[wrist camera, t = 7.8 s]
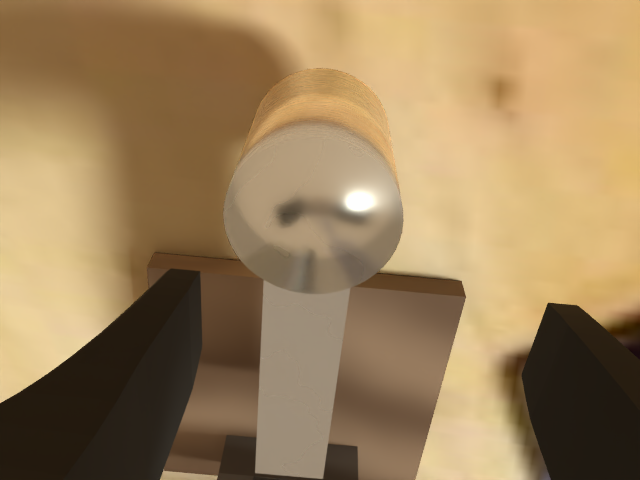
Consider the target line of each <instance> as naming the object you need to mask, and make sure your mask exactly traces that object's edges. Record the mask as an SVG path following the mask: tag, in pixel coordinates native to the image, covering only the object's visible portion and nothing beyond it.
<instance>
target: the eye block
mask: <svg viewBox="0 0 640 480" xmlns="http://www.w3.org/2000/svg"><path fill="white" fill-rule="evenodd" d="M171 268H173V269H184V270H195V271H200V277H201V312H202V350H201V355H200V359H199V364H198V369H197V373H196V377H195V381H194V385H193V389H192V392H191V395H190V398H189V401H188V404H187V406H186V409H185V412H184V415H183V417H182V420H181V423H180V426H179V428H178V431H177V434H176V437H175V439H174V442H173V445H172V448H171V450H170V453H169V456H168V459H167V461H166V464H165V467H164V471H172V472H184V473H195V474H207V475H218V478H217V480H415V478H416V475H417V471H418V468H419V464H420V460H421V457H422V453H423V450H424V446H425V442H426V439H427V435H428V432H429V428H430V424H431V421H432V417H433V414H434V410H435V406H436V403H437V399H438V396H439V392H440V388H441V385H442V381H443V378H444V374H445V370H446V367H447V363H448V360H449V356H450V352H451V349H452V345H453V342H454V338H455V334H456V331H457V327H458V324H459V320H460V317H461V313H462V309H463V306H464V302H465V299H466V295H465V292H464V288H463V285H462V281H453V280H443V279H432V278H421V277H410V276H399V275H389V274H378V273H376V274H375V275H373V276H372V277H371V278H369V279H368V280H366V281H364V282H362V283H361V284H359V285H356V286H354V287H351V288H350V294H349V301H348V308H347V315H346V321H345V328H344V335H343V342H342V349H341V356H340V363H339V370H338V377H337V384H336V391H335V398H334V405H333V412H332V419H331V426H330V433H329V440H328V447H327V454H326V461H325V468H324V475H323V479H317V478H306V477H294V476H283V475H271V474H260V473H255V464H256V441H257V419H258V397H259V375H260V352H261V330H262V308H263V285H264V280H263V279H262V278H260V277H259V276H257V275H256V274H254V273H253V272H252V271H251V270H250V269H248V268H247V267H246V266H245V264H244V263H243V262H242V261H238V260H227V259H217V258H206V257H195V256H184V255H173V254H163V253H154V254H153V256H152V258H151V260H150V262H149V264H148V266H147V274H148V285H149V288H150V287H151V286H152V285H153V284H154V283H155V282H156V281H157V280H158V279H159V278H160V277H161V276H162V275H163V274H164V273H165V272H167V271H168V270H169V269H171Z"/></svg>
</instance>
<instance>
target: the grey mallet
mask: <svg viewBox="0 0 640 480" xmlns="http://www.w3.org/2000/svg"><path fill="white" fill-rule="evenodd" d="M223 217H224V226H225V231H226V235H227V237H228V240H229V242H230V245H231V246H232V248H233V250H234V252H235V253H236V255H237V256H238V257H239V259H240V260H241V261H242V262H243V263H244V264H245V266H246V267H247V268H248V269H250V270H251V271H252V272H253V273H254V274H256V275H257V276H259V277H260V278H262V279H263V280H264V285H263V308H262V330H261V352H260V375H259V397H258V419H257V441H256V464H255V473H260V474H271V475H283V476H294V477H306V478H317V479H323V475H324V468H325V461H326V454H327V447H328V440H329V433H330V426H331V419H332V412H333V405H334V398H335V391H336V384H337V377H338V370H339V363H340V356H341V349H342V342H343V335H344V328H345V321H346V315H347V308H348V301H349V294H350V288H351V287H354V286H356V285H359V284H361V283H362V282H364V281H366V280H368V279H369V278H371V277H372V276H373V275H375V274H376V273H377V272H378V271H379V270H380V269H381V268H383V267H384V265H385V264H386V263H387V262H388V261H389V259H390V258H391V256H392V255H393V253H394V252H395V250H396V248H397V245H398V243H399V241H400V237H401V233H402V228H403V208H402V202H401V196H400V190H399V184H398V178H397V172H396V166H395V160H394V154H393V149H392V143H391V137H390V131H389V125H388V120H387V116H386V113H385V110H384V108H383V106H382V104H381V102H380V100H379V99H378V98H377V96H376V95H375V93H374V92H373V91H372V90H371V89H370V88H369V87H368V86H367V85H365V84H364V83H363V82H362V81H360V80H358V79H357V78H355V77H354V76H351V75H349V74H347V73H344V72H341V71H338V70H333V69H323V68H316V69H307V70H303V71H299V72H296V73H294V74H291V75H289V76H287V77H285V78H284V79H282V80H281V81H279V82H278V83H277V84H275V85H274V86H273V87H272V88H271V89H270V90H269V91H268V92H267V94H266V95H265V96H264V98H263V99H262V101H261V103H260V105H259V107H258V109H257V112H256V114H255V117H254V120H253V123H252V125H251V128H250V131H249V134H248V136H247V139H246V142H245V144H244V147H243V150H242V153H241V155H240V158H239V161H238V163H237V166H236V169H235V172H234V174H233V177H232V180H231V182H230V185H229V188H228V191H227V193H226V197H225V202H224V211H223Z"/></svg>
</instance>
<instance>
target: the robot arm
mask: <svg viewBox="0 0 640 480" xmlns="http://www.w3.org/2000/svg"><path fill="white" fill-rule="evenodd" d="M201 350H202V312H201V277H200V271H195V270H184V269H173V268H171V269H169V270H168V271H167V272H165V273H164V274H163V275H162V276H161V277H160V278H159V279H158V280H157V281H156V282H155V283H154V284H153V285H152V286H151V287H150V288H149V289H148V290H147V291H146V292H145V293H144V294H143V295H142V296H141V297H140V298H139V299H138V300H137V301H135V302H134V303H133V304H132V305H131V306H130V307H129V308H128V309H127V310H126V311H125V312H124V313H122V314H121V315H120V316H119V317H118V318H117V319H116V320H115V321H113V322H112V323H111V324H110V325H109V326H108V327H107V328H106V329H104V330H103V331H102V332H101V333H100V334H99V335H97V336H96V337H95V338H94V339H92V340H91V341H90V342H89V343H87V344H86V345H85V346H84V347H82V348H81V349H80V350H79V351H77V352H76V353H75V354H74V355H72V356H71V357H70V358H69V359H67V360H66V361H64V362H63V363H62V364H60V365H59V366H58V367H56V368H55V369H54V370H52V371H51V372H49V373H48V374H47V375H45V376H44V377H42V378H41V379H39V380H38V381H36V382H35V383H33V384H32V385H30V386H29V387H27V388H25V389H24V390H22V391H21V392H19V393H17V394H16V395H14V396H12V397H10V398H9V399H7V400H5V401H4V402H2V403H0V480H160V478H161V475H162V472H163V469H164V467H165V464H166V461H167V459H168V456H169V453H170V450H171V448H172V445H173V442H174V439H175V437H176V434H177V431H178V428H179V426H180V423H181V420H182V417H183V415H184V412H185V409H186V406H187V404H188V401H189V398H190V395H191V392H192V389H193V385H194V381H195V377H196V373H197V369H198V364H199V359H200V355H201ZM522 380H523V385H524V391H525V396H526V401H527V406H528V411H529V415H530V420H531V423H532V426H533V429H534V432H535V435H536V438H537V441H538V444H539V447H540V450H541V453H542V455H543V458H544V461H545V464H546V467H547V470H548V473H549V475H550V478H551V480H640V360H639V359H638V358H637V357H636V356H635V355H633V354H632V353H631V352H630V351H629V350H628V349H627V348H626V347H625V346H623V345H622V344H621V343H620V342H619V341H618V340H617V339H616V338H615V337H613V336H612V335H611V334H610V333H609V332H608V331H607V330H606V329H605V328H603V327H602V326H601V325H600V324H599V323H598V322H597V321H596V320H594V319H593V318H592V317H591V316H590V315H589V314H587V313H586V312H585V311H584V310H582V309H581V308H580V307H579V306H577V305H566V304H556V303H548V304H547V307H546V310H545V313H544V315H543V318H542V321H541V323H540V326H539V329H538V332H537V334H536V337H535V340H534V342H533V345H532V348H531V351H530V353H529V356H528V359H527V361H526V364H525V367H524V370H523V372H522Z"/></svg>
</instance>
